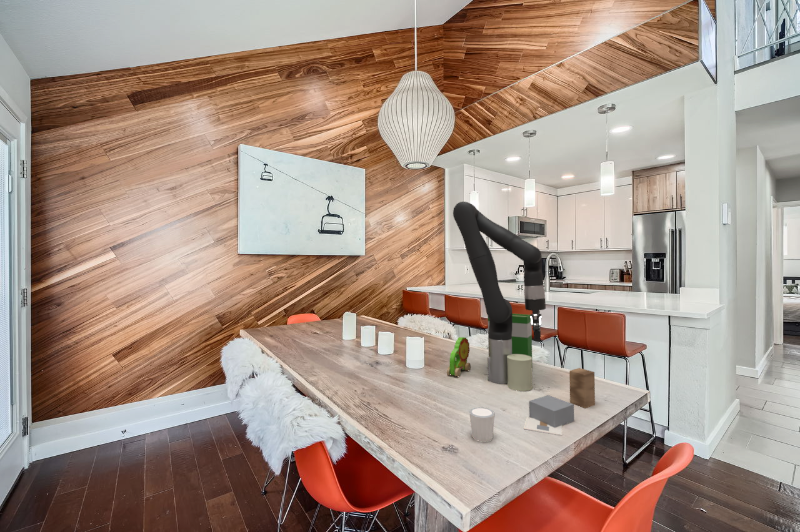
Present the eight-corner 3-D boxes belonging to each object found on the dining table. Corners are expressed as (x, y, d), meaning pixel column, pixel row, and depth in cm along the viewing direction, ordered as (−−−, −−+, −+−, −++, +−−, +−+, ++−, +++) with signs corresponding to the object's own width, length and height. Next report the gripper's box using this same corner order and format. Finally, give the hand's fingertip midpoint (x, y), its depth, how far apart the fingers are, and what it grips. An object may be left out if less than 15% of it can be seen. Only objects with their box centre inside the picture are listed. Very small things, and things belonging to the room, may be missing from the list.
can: (514, 381, 142) (514, 351, 142) (536, 386, 135) (536, 355, 135) (502, 387, 135) (502, 356, 135) (525, 393, 129) (525, 360, 129)
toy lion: (457, 378, 147) (456, 342, 146) (446, 376, 150) (445, 340, 150) (473, 368, 159) (472, 335, 159) (462, 367, 163) (461, 334, 162)
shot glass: (466, 431, 101) (466, 407, 101) (490, 430, 101) (489, 406, 101) (473, 444, 94) (473, 418, 94) (498, 442, 95) (498, 416, 95)
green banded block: (488, 366, 163) (487, 314, 163) (494, 362, 169) (493, 312, 169) (528, 372, 153) (527, 317, 153) (532, 367, 159) (531, 314, 159)
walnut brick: (570, 403, 119) (569, 370, 119) (579, 399, 122) (579, 367, 122) (585, 408, 115) (584, 374, 114) (595, 404, 117) (594, 372, 117)
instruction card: (523, 429, 102) (523, 428, 102) (526, 417, 109) (526, 417, 109) (561, 435, 97) (561, 434, 97) (562, 423, 105) (562, 422, 105)
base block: (529, 416, 109) (529, 400, 109) (548, 410, 114) (548, 394, 114) (554, 428, 102) (554, 411, 101) (574, 420, 106) (573, 404, 106)
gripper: (525, 296, 145) (528, 335, 145) (523, 299, 132) (526, 342, 132) (545, 295, 142) (548, 335, 142) (544, 298, 129) (548, 342, 129)
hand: (537, 339), depth 137 cm, fingers open, 8 cm apart
